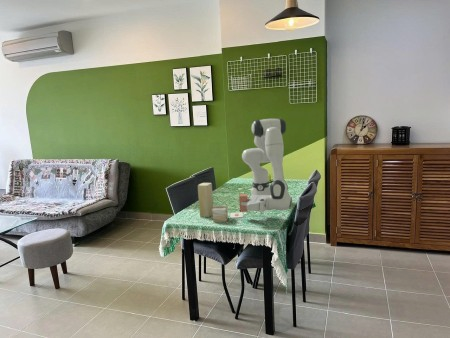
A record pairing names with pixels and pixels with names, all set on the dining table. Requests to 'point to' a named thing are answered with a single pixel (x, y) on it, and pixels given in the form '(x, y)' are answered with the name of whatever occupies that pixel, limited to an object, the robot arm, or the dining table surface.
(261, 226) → the dining table surface
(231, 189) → the dining table surface
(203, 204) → the tall beige pillar
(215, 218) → the tower base
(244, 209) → the tall brick
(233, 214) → the page
